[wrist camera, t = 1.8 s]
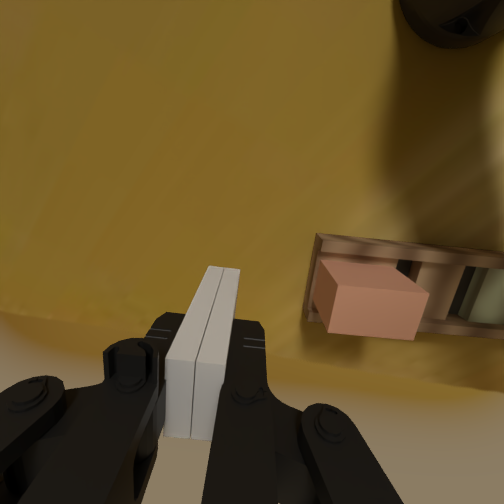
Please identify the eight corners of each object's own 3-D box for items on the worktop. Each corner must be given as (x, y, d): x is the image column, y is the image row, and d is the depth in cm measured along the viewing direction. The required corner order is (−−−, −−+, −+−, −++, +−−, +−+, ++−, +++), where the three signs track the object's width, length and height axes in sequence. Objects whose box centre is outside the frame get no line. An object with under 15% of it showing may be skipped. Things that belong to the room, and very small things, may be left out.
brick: (312, 298, 38) (327, 332, 30) (320, 259, 36) (338, 284, 28) (381, 305, 38) (413, 340, 30) (392, 266, 36) (429, 293, 28)
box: (302, 307, 41) (310, 330, 35) (316, 233, 37) (327, 245, 32) (527, 328, 42) (571, 354, 36) (563, 258, 38) (617, 274, 32)
